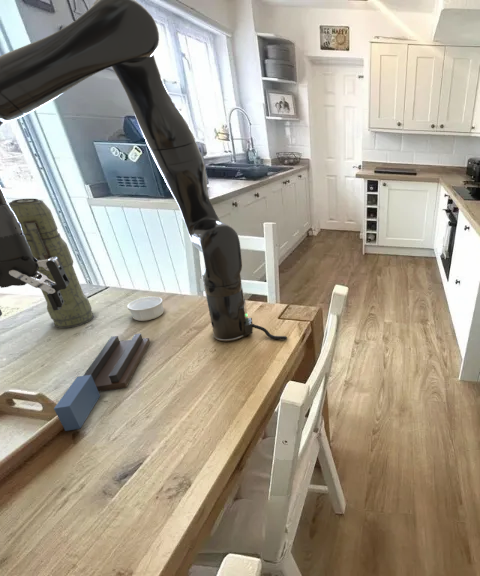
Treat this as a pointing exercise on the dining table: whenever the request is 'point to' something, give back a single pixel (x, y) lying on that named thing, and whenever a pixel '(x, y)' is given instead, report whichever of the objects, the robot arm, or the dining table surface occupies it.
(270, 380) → the dining table surface
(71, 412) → the back pad
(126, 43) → the robot arm
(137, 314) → the ramekin
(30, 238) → the olive green tall column
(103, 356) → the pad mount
